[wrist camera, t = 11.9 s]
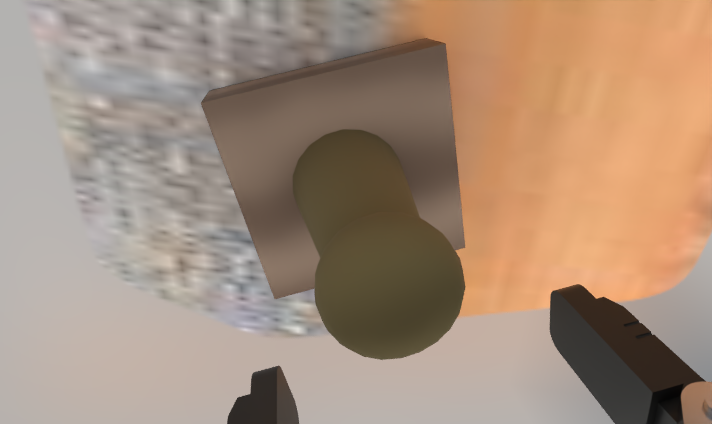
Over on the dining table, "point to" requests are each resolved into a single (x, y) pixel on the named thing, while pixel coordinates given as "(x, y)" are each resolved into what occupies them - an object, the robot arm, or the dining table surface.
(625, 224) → the dining table surface
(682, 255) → the dining table surface
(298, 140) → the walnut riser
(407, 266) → the olive knob-ended peg
